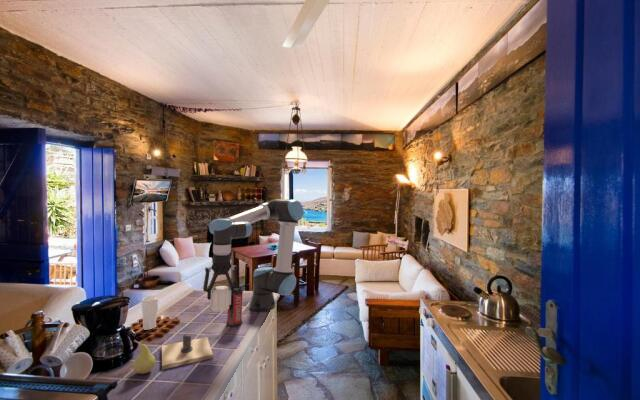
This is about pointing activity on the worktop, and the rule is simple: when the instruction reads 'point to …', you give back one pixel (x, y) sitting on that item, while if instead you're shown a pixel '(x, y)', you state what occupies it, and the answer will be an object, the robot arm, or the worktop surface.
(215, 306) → the white domed knob
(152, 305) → the drinking glass
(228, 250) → the robot arm
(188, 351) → the board
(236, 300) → the speaker
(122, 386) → the worktop surface
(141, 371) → the fruit
